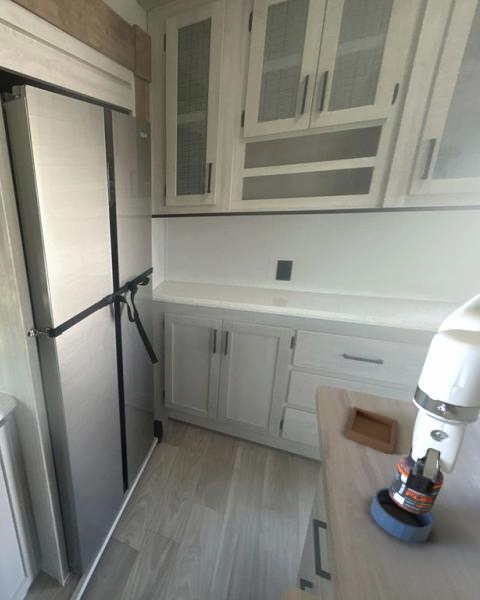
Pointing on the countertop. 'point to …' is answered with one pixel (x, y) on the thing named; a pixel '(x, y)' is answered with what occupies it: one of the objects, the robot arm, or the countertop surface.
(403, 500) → the supplement bottle
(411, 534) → the ring
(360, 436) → the tray
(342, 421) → the countertop surface
